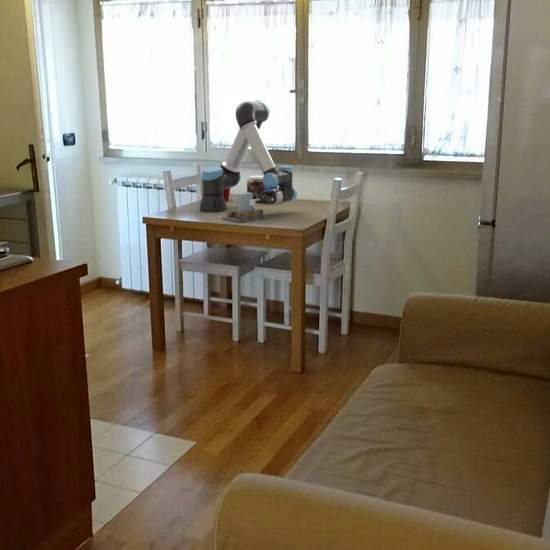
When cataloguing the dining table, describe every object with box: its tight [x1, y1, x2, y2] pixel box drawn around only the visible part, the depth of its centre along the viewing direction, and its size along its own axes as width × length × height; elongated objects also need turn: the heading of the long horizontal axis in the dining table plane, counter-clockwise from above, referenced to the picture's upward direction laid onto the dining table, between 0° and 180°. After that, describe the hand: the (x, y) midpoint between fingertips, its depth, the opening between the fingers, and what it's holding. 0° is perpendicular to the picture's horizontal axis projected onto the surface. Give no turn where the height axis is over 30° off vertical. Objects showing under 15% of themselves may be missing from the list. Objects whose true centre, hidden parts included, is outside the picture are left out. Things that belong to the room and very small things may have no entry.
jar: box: [246, 174, 266, 195], centre depth 427 cm, size 12×12×15 cm
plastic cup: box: [223, 188, 231, 202], centre depth 431 cm, size 11×11×12 cm
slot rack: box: [221, 207, 269, 224], centre depth 374 cm, size 20×14×4 cm
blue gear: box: [264, 185, 279, 192], centre depth 419 cm, size 12×7×12 cm, turn 120°
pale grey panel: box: [237, 192, 254, 213], centre depth 373 cm, size 8×2×12 cm, turn 132°
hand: (241, 201), depth 371 cm, fingers open, 13 cm apart
